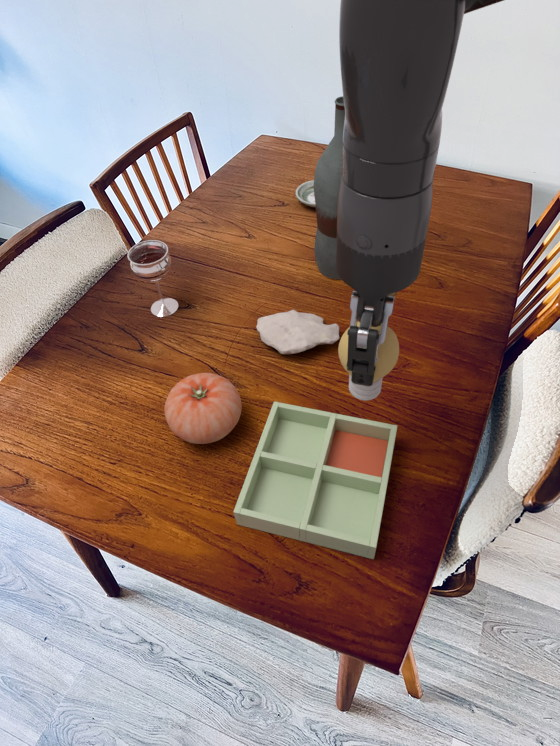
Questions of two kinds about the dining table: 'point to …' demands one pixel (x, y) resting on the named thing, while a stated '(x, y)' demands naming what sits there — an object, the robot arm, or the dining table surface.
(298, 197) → the saucer
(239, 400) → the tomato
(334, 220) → the bottle
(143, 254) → the wineglass
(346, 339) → the light bulb
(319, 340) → the decorative stone
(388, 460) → the grid
